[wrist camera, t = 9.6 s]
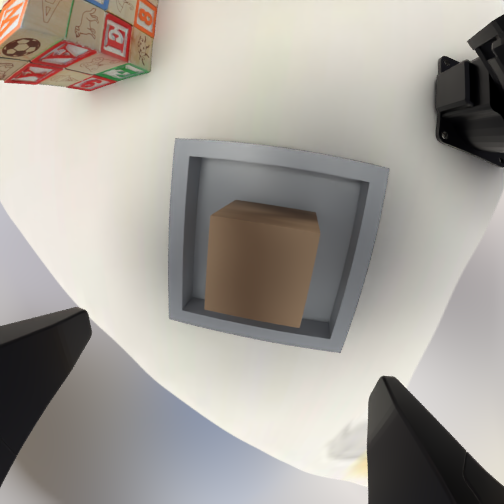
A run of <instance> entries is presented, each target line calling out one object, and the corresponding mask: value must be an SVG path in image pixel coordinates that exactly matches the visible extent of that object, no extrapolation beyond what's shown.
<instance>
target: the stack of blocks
mask: <svg viewBox="0 0 504 504" xmlns="http://www.w3.org/2000/svg"><path fill="white" fill-rule="evenodd" d="M157 6H158V0H0V80H4V83H18V84H33V85H36V84H41V85H52V86H61V87H67V88H73V89H79V90H85V91H92V90H94V89H97V88H100V87H103V86H106V85H109V84H112V83H115V82H117V81H119V80H123V79H126V78H130V77H133V76H137V75H141V74H145V73H149V72H150V71H151V56H152V44H153V38H154V32H155V23H156V14H157Z"/></svg>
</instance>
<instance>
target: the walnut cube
mask: <svg viewBox="0 0 504 504" xmlns="http://www.w3.org/2000/svg"><path fill="white" fill-rule="evenodd" d="M319 238H320V229H319V224H318V220H317V216H316V212H311V211H305V210H299V209H293V208H287V207H281V206H275V205H268V204H262V203H255V202H248V201H241V200H234V201H233V202H231V203H229V204H228V205H226V206H225V207H223V208H221V209H220V210H218V211H217V212H215V213H213V214H212V215H210V226H209V239H208V254H207V269H206V287H205V308H204V309H205V310H209V311H214V312H218V313H223V314H227V315H232V316H237V317H242V318H247V319H252V320H257V321H262V322H268V323H273V324H278V325H284V326H290V327H296V328H300V324H301V320H302V316H303V312H304V308H305V304H306V299H307V295H308V291H309V286H310V282H311V277H312V273H313V268H314V263H315V258H316V254H317V249H318V244H319Z"/></svg>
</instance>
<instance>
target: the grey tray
mask: <svg viewBox="0 0 504 504" xmlns="http://www.w3.org/2000/svg"><path fill="white" fill-rule="evenodd" d="M388 174H389V168H385V167H381V166H377V165H373V164H369V163H364V162H360V161H355V160H351V159H346V158H341V157H336V156H331V155H325V154H320V153H314V152H308V151H302V150H295V149H289V148H282V147H274V146H267V145H258V144H249V143H239V142H228V141H216V140H200V139H179V138H175V146H174V156H173V168H172V181H171V197H170V217H169V253H168V291H169V319H172V320H175V321H179V322H183V323H187V324H191V325H195V326H199V327H203V328H207V329H211V330H216V331H220V332H225V333H229V334H234V335H238V336H243V337H248V338H253V339H258V340H263V341H269V342H274V343H280V344H285V345H291V346H297V347H304V348H310V349H317V350H324V351H331V352H339V353H341V350H342V347H343V345H344V342H345V339H346V336H347V334H348V331H349V328H350V325H351V322H352V319H353V316H354V313H355V310H356V307H357V304H358V300H359V297H360V294H361V291H362V287H363V284H364V280H365V277H366V273H367V270H368V266H369V262H370V259H371V255H372V251H373V247H374V243H375V239H376V234H377V230H378V226H379V221H380V217H381V212H382V207H383V202H384V197H385V192H386V186H387V180H388ZM234 200H241V201H248V202H255V203H262V204H268V205H275V206H281V207H287V208H293V209H299V210H305V211H311V212H316V216H317V220H318V224H319V229H320V238H319V244H318V249H317V254H316V258H315V263H314V268H313V273H312V277H311V282H310V286H309V291H308V295H307V299H306V304H305V308H304V312H303V316H302V320H301V324H300V328H296V327H290V326H284V325H278V324H273V323H268V322H262V321H257V320H252V319H247V318H242V317H237V316H232V315H227V314H223V313H218V312H214V311H209V310H205V309H204V308H205V287H206V269H207V254H208V239H209V226H210V215H212V214H213V213H215V212H217V211H218V210H220V209H221V208H223V207H225V206H226V205H228V204H229V203H231V202H233V201H234Z"/></svg>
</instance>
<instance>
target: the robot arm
mask: <svg viewBox="0 0 504 504" xmlns="http://www.w3.org/2000/svg"><path fill="white" fill-rule="evenodd" d="M467 42H468V44H469V45H470V46H471V48H472V49H473V50H475V51H476V53H477V54H478V56H479V57H478V58H476V59H474V60H472V61H469V60H464V61H462V62H461V63H460V62H458V61H455V60H453V59H451V58H449V57H447V56H442V57H441V58H440V59H439V75H437V88H436V109H437V111H438V118H437V130H436V137H437V139H438V141H439V142H441V143H443V144H446V145H448V146H451V147H454V148H456V149H459V150H461V151H464V152H466V153H468V154H471V155H473V156H475V157H478V158H480V159H482V160H484V161H487V162H489V163H491V164H493V165H495V166H497V167H502V168H503V167H504V15H502V16H500V17H498V18H497V19H495V20H494V21H492V22H491V23H489V24H488V25H487V26H486V27H484V28H483V29H482V30H481V31H479V32H478V33H477V34H476V35H474V36H473V37H472V38H471V39H469V40H468V41H467ZM444 61H445V62H447V64H448V66H447V65H446V64H445V63H444ZM442 133H444V134H445V139H443V137H442ZM499 159H501V162H499ZM91 335H92V330H91V325H90V320H89V315H88V313H87V311H86V310H84V309H81V308H79V307H74V308H70V309H66V310H62V311H58V312H55V313H50V314H47V315H43V316H39V317H35V318H31V319H27V320H23V321H19V322H15V323H11V324H7V325H3V326H0V487H1V485H2V483H3V481H4V479H5V477H6V475H7V473H8V471H9V470H10V467H11V466H12V464H13V462H14V460H15V459H16V457H17V456H16V455H18V453H19V451H20V449H21V448H22V446H23V444H24V443H25V441H26V439H27V438H28V436H29V434H30V433H31V431H32V429H33V428H34V426H35V424H36V423H37V421H38V420H39V418H40V417H41V415H42V414H43V412H44V410H45V409H46V407H47V406H48V404H49V403H50V401H51V400H52V398H53V397H54V395H55V394H56V392H57V391H58V389H59V388H60V387H61V385H62V384H63V382H64V381H65V379H66V378H67V376H68V375H69V374H70V372H71V370H72V369H73V367H74V365H75V364H76V362H77V360H78V358H79V357H80V355H81V353H82V351H83V350H84V348H85V346H86V345H87V343H88V341H89V340H90V338H91ZM367 461H368V504H504V486H503V485H502V484H500V483H499V482H498V481H497V480H496V479H495V478H493V477H492V476H491V475H490V474H489V473H488V472H487V471H486V470H485V469H484V468H483V467H482V466H481V465H480V464H479V463H478V462H477V461H476V460H475V459H474V458H473V457H472V456H471V455H470V454H469V453H468V452H466V450H465V449H464V448H463V447H462V446H461V445H460V444H459V443H458V441H457V440H455V438H454V437H453V436H452V435H451V434H450V433H449V432H448V431H447V430H446V429H445V428H444V427H443V426H442V425H441V424H440V423H439V422H438V421H437V420H436V418H434V417H433V415H432V414H431V413H430V412H429V411H428V410H427V409H426V408H425V407H424V406H423V405H422V404H421V403H420V402H419V401H418V400H417V399H416V398H415V397H414V396H413V395H412V394H411V393H410V392H409V391H408V390H407V389H406V388H405V387H404V386H403V385H402V384H401V383H400V382H399V380H398V379H397V378H395V377H393V376H382V377H380V378H379V380H378V382H377V384H376V386H375V387H374V389H373V391H372V393H371V395H370V397H369V402H368V432H367Z"/></svg>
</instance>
